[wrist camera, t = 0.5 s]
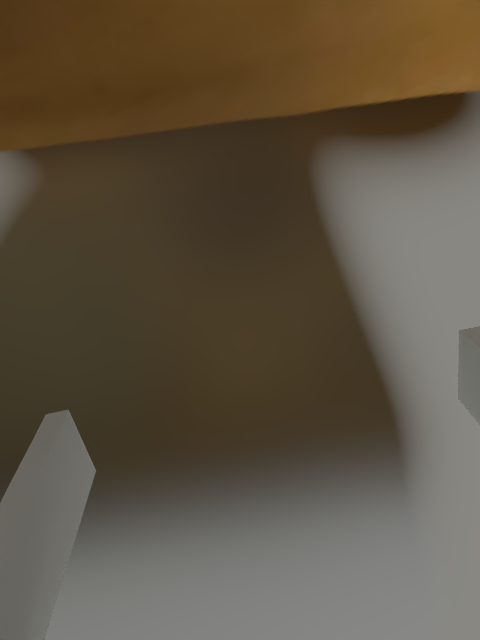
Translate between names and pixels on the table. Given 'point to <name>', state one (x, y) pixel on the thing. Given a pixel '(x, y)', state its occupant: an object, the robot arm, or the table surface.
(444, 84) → the table surface
